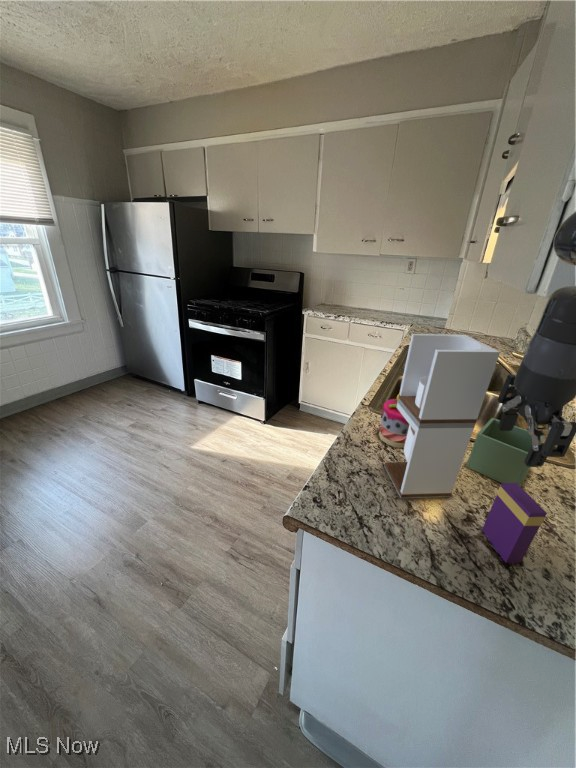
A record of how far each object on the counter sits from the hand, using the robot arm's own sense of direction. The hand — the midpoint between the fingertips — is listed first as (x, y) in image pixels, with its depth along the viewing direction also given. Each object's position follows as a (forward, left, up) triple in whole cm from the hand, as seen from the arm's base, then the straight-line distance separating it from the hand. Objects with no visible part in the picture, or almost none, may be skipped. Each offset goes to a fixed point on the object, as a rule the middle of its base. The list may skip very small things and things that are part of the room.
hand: (517, 446), depth 53 cm
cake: (+27, -16, -21) cm, 38 cm away
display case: (+15, -3, -21) cm, 26 cm away
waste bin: (+3, -24, -21) cm, 32 cm away
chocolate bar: (-4, +1, -21) cm, 21 cm away
